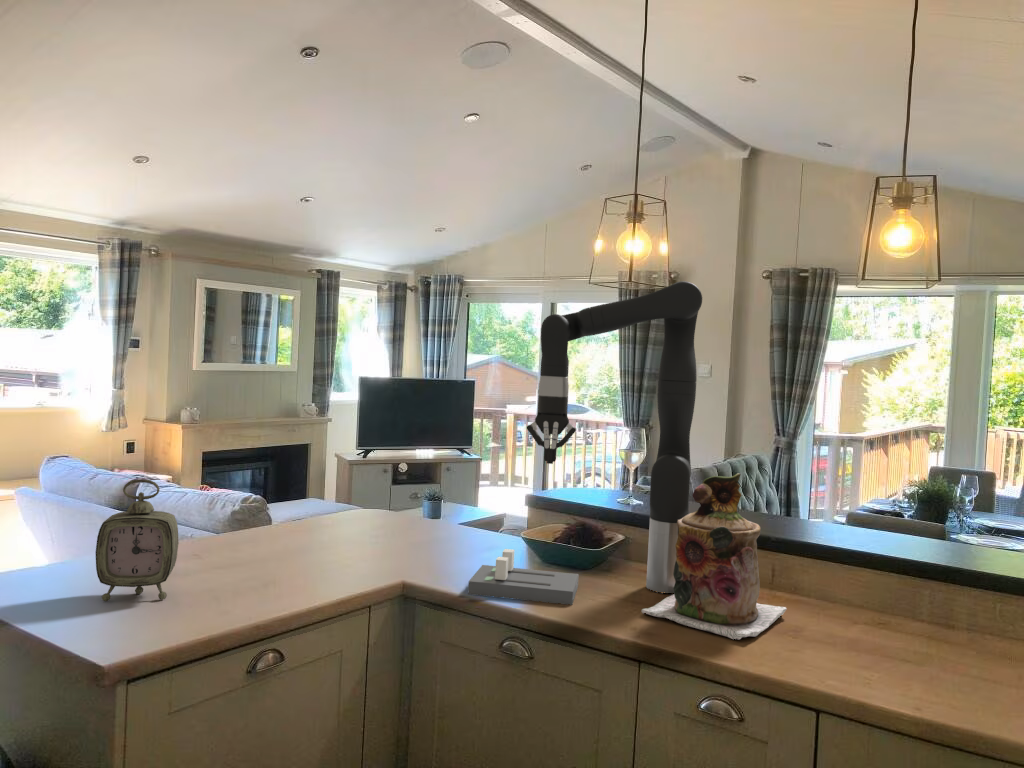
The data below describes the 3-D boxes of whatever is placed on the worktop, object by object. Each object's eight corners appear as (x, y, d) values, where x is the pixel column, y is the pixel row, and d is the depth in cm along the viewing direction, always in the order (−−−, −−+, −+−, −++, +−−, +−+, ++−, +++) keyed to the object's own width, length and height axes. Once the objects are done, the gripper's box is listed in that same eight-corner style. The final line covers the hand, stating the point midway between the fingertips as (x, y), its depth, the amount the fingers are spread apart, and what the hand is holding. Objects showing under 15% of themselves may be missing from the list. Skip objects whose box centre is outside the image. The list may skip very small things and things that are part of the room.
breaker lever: (513, 568, 182) (514, 549, 182) (511, 571, 179) (512, 552, 179) (503, 567, 183) (504, 548, 182) (501, 570, 180) (502, 551, 180)
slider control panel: (578, 586, 181) (578, 573, 181) (572, 605, 167) (573, 591, 167) (481, 576, 186) (482, 564, 186) (468, 594, 171) (468, 580, 171)
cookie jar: (686, 592, 181) (693, 461, 181) (789, 617, 166) (797, 474, 165) (637, 616, 162) (645, 469, 161) (748, 646, 147) (757, 484, 146)
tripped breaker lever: (507, 576, 174) (508, 557, 174) (505, 580, 171) (506, 560, 171) (497, 575, 175) (498, 556, 175) (495, 579, 172) (496, 559, 172)
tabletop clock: (93, 604, 151) (98, 482, 151) (104, 591, 160) (109, 475, 159) (170, 602, 155) (175, 482, 155) (177, 589, 164) (182, 476, 163)
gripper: (580, 395, 190) (577, 463, 190) (529, 392, 192) (526, 459, 192) (578, 396, 182) (574, 467, 182) (525, 393, 184) (521, 463, 185)
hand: (549, 463), depth 187 cm, fingers closed
